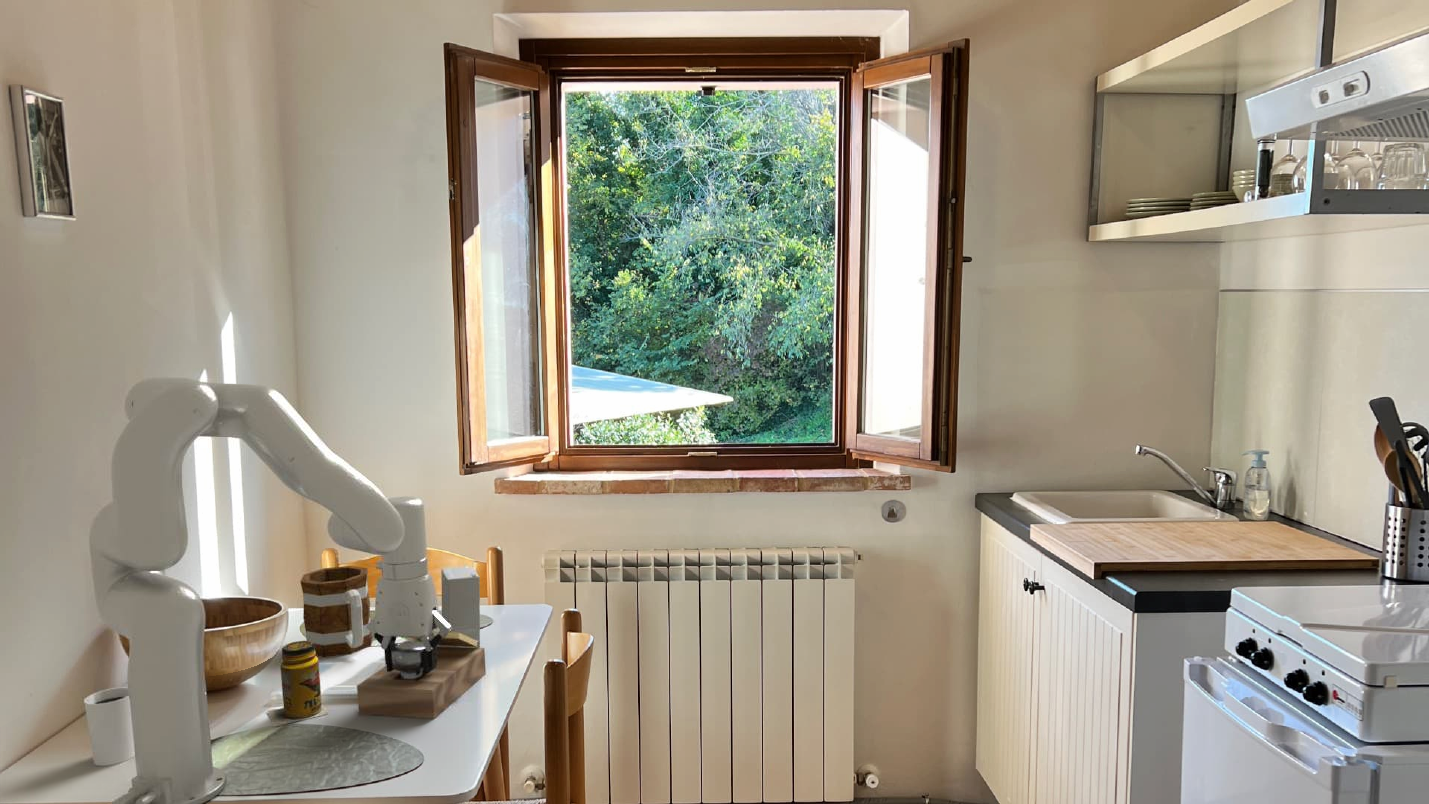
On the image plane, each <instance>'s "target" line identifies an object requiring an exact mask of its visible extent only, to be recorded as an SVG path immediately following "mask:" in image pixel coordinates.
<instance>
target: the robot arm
mask: <svg viewBox="0 0 1429 804" xmlns="http://www.w3.org/2000/svg"><path fill="white" fill-rule="evenodd" d="M124 412H125V415H126V417H127V419H128V421H129V422H128V423H127V424H126V426H125V427H124V428H123V430H122V432H121V433H120V435H119V437H118V439H117V440H116V443H115V445H114V448H113V452H112V456H111V462H110V463H111V464H110V467H111V468H110V469H111V470H110V472H111V474H110V476H111V491H112V492H111V495H112V501H111V502H109V503H107V504H106V505H105V506H103V507H102V508H101V509H100V510H99V512H98V513H97V514H96V515H95V517H94V519H93V521H92V523H91V526H90V529H89V537H88V539H89V540H88V542H89V543H88V544H89V555H90V564H91V565H90V566H91V572H92V573H91V574H92V579H93V580H92V583H93V588H94V596H95V602H96V609H97V612H98V614H99V616H100V617H99V618H100V619H101V621H102V622H103V624H104V625H105V626H106V627H107V628H109V629H110V630H112V631H113V632H115V633H116V634H119V635H121V636H123V637H125V638H126V639H128V642H129V653H128V660H127V661H128V662H127V677H126V678H127V688H128V693H129V699H130V709H131V720H132V730H133V740H134V751H135V756H134V758H135V759H134V761H135V769H136V770H135V771H136V776H134V777H132V778H131V787H130V788H129V789H128V790H127V791H128V792H126V793H124V794H122V795H121V796H120V797H118V798H116V799H115V800H114V801H112V802H111V804H204V803H207V801H210V800H212V799H213V798H215V796H218V795H219V794H220V793H221V792H222V791H223V790H224V788H225V787H226V784H227V776H226V773H225V771H223V770H222V769H221V768H219V767H215V766H213V751H212V743H211V730H210V728H211V727H210V719H209V717H210V716H209V706H208V696H207V694H208V693H207V685H206V683H207V682H206V677H205V665H204V664H205V663H204V642H205V640H204V639H205V630H206V611H205V610H206V609H205V607H204V602H203V601H202V598H201V597H200V595H199V594H198V593H197V591H196V590H195V589H193V587H191V586H190V585H188V584H187V583H185V582H184V581H181V580H178V579H175V578H172V577H171V576H170V577H169V576H166V570H168V569H170V568H172V567H174V566H175V565H177V564H178V563H179V562H180V561H181V559H183V557H184V555H185V554H186V551H187V548H188V544H189V534H188V533H189V532H188V524H187V515H186V507H185V499H184V498H185V497H184V489H183V462H184V459H185V456H186V454H187V452H188V450H189V449H190V447H191V446H192V444H193V443H194V442H195V441H196V440H197V439H198V438H199V437H209V438H210V437H211V438H233V439H240V440H242V441H243V442H244V443H245V444H246V445H247V446H248V447H249V448H250V449H251V450H252V451H253V452H254V453H255V454H256V456H257V457H258V458H259V459H260V460H261V461H262V462H263V463H264V464H265V465H266V466H267V467H268V469H269V470H271V472H272V473H273V474H274V475H275V476H276V478H278V479H279V480H280V482H282V483H283V485H284V486H286V487H287V488H288V489H290V490H291V491H294V492H295V493H296V494H298V495H299V496H301V497H303V498H306V499H307V500H310V501H312V502H314V503H317V504H318V505H320V506H321V507H324V508H325V509H327V510H328V511H330V512H331V515H330V517H329V519H328V521H327V527H326V529H327V533H328V535H329V537H330V539H331V541H333V543H335V544H337V545H339V546H340V547H342V548H345V549H350V550H354V551H358V552H362V553H363V552H364V553H368V554H371V555H376V556H380V557H381V559H380V561H376V563H375V569H376V570H380V571H381V577H378V580H377V584H376V592H375V601H374V602H375V603H374V617H372V619H370V622H369V623H368V624H367V626H366V627H367V629H368V630H369V631H370V632H371V633H372V636H373V637H374V639H375V640H376V641H377V642H378V644H380V647H381V649H382V650H384V663H385V666H386V665H387V672H391V671H392V670H394V669H393V668H392V659H391V649H392V648H393V647H394V646H396V645H398V643H396V641H397V638H401V637H415V638H420V639H421V641H422V643H423V645H424V647H425V651H423V653H422V655H423V671H424V673H425V674H428V673H429V672H431V671H432V670H433V669H435V667H436V665H437V653H436V646H439V643H440V642H441V641H442V640H443V639H444V638H445V636H446V635H447V634H448V633H449V632H450V631H451V630H452V627H451V625H450V624H449V623H448V622H447V621H446V620H445V619H444V618H443V617H442V614H440V610H439V602H438V596H437V595H438V594H437V591H436V587H435V583H434V580H433V579H434V578H433V576H432V574H429V570H428V569H429V566H428V565H429V563H428V551H427V550H428V549H427V547H428V546H427V532H426V518H425V517H426V516H425V515H426V514H425V504H424V502H423V501H422V499H420V498H419V497H416V496H397V497H391V498H387V497H386V496H385V495H384V493H382V491H381V490H380V489H379V488H378V487H377V486H376V485H374V483H372V481H370V480H369V479H368V478H366V477H365V476H364V475H363V474H362V473H360V472H359V471H357V469H355V468H354V467H353V466H351V464H349V463H348V462H346V461H345V460H344V459H342V457H340V456H339V455H337V454H336V453H335V452H333V451H332V450H331V449H330V448H329V447H328V445H326V443H325V442H324V441H323V440H322V439H321V438H320V437H319V435H318V434H316V432H315V431H314V430H313V429H312V427H310V425H309V424H308V423H307V421H305V420H304V419H303V417H302V416H301V415H300V414H299V413H298V411H297V410H296V409H295V407H293V406H292V404H291V403H290V402H289V400H287V399H286V397H284V396H283V394H281V393H280V392H278V391H277V390H276V389H275V388H272V387H271V386H270V387H269V386H266V385H261V384H247V383H246V384H245V383H243V384H241V383H223V382H222V383H221V382H207V381H200V380H197V379H194V378H188V377H168V376H167V377H164V376H155V377H148V378H145V379H142V380H141V381H139V382H137V383H136V384H134V385H133V386H132V387H131V389H130V390H129V391H128V392H127V394H126V397H125V400H124ZM436 629H439V631H438V632H439V633H438V634H437V635H435V632H436V631H435V630H436Z"/></svg>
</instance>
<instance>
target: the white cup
mask: <svg viewBox="0 0 1429 804" xmlns="http://www.w3.org/2000/svg"><path fill="white" fill-rule="evenodd" d="M83 701H84V709H85V714H86V720H87V728H88V733H89V740H90V745H91V751H92V752H91V754H92V758H93V764H94V765H96V766H97V767H98V766H100V767H101V766H103V767H107V766H114V765H117V764H121V763H124V762H126V761H128V760H130V759H132V758H133V757H134V758H135V751H134V740H133V730H132V720H131V709H130V699H129V693H128V687H122V686H121V687H112V688H107V689H103V690H100V691H97V692H94V693H92V694H89V695H88V696H87V697H86V698H84V699H83Z"/></svg>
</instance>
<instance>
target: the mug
mask: <svg viewBox="0 0 1429 804" xmlns="http://www.w3.org/2000/svg"><path fill="white" fill-rule="evenodd" d="M368 572H369V569H368V568H367V567H364V566H363V567H361V566H355V565H344V566H335V567H326V568H325V567H324V568H321V569H317V570H315V571H311V572H308V573H305V574H303V575H302V577H301V579H300V581H299V582H300V586H301V587H300V588H301V591H302V598H303V625H304V628H305V638H306V639H305V641H311V642H313V643H314V645H315V652H316V655H315V656H316V657H317V658H318V657H319V658H331V657H339V656H347V655H353V654H354V652H355V653H358V652H360V651H362V650H365V649H367V648H370V647H372V644H373V643H372V642H373V639H372V638H373V637H374V636H373V634H372V633H371V632H370V631H369V630H368V629H367V627H366V626H367V624H368V623H369V622H370V621H371V616H370V615H371V602H370V595H369V587H368ZM352 653H353V654H352Z"/></svg>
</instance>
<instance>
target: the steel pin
mask: <svg viewBox="0 0 1429 804" xmlns="http://www.w3.org/2000/svg"><path fill="white" fill-rule="evenodd" d="M397 644H398V643H397ZM423 651H425V647H424V645H423V643H422V642H421V641H413V642H411V641H407V642H403V643H399V644H398V645H396V646H394V647H393V648H392V649H391V659H392V668H393V669H394V670H397V671H401V680H414V681H419V680H420V679H421V678H423V671H422V668H423V655H422V653H423Z"/></svg>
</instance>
